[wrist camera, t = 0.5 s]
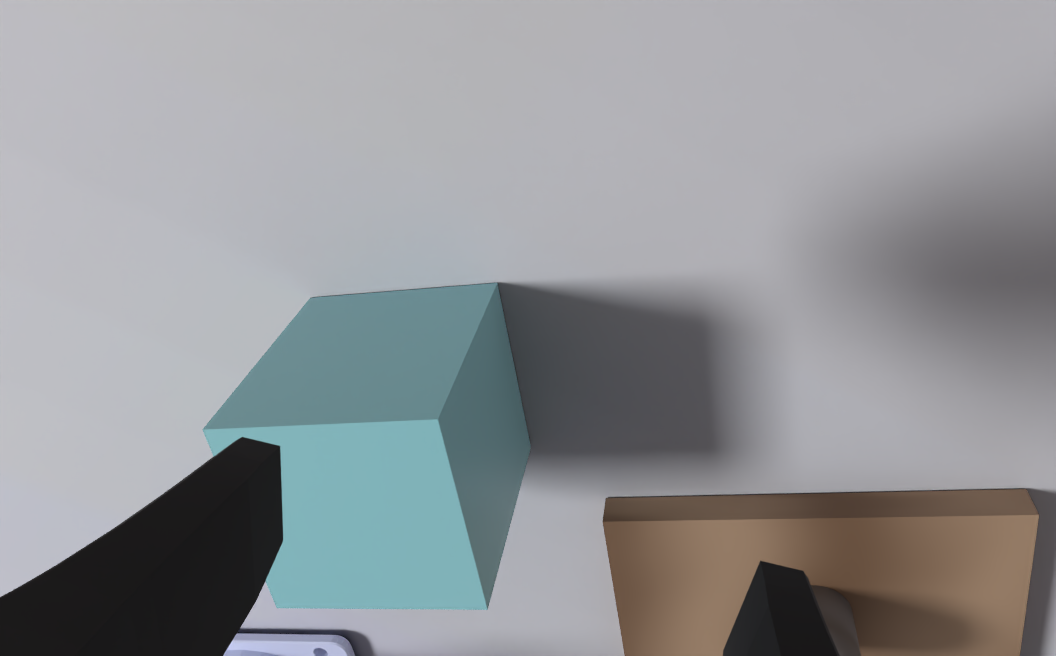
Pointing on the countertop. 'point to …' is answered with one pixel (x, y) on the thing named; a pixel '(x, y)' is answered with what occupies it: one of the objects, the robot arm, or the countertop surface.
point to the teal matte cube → (388, 447)
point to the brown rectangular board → (828, 568)
